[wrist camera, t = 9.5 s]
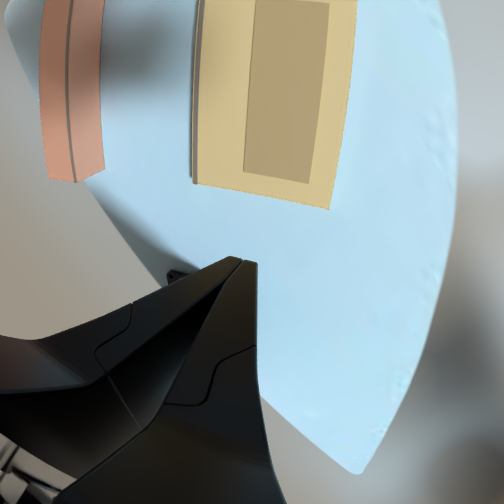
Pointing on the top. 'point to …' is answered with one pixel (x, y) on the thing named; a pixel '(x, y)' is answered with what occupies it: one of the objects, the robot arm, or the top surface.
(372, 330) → the top surface
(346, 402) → the top surface
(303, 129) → the tan rectangular slab
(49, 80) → the pink long block
